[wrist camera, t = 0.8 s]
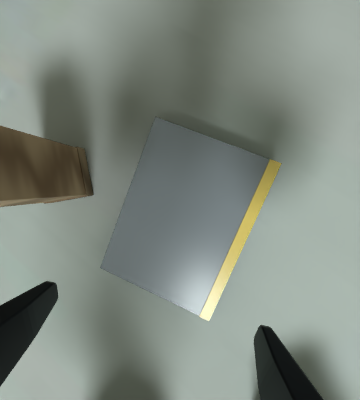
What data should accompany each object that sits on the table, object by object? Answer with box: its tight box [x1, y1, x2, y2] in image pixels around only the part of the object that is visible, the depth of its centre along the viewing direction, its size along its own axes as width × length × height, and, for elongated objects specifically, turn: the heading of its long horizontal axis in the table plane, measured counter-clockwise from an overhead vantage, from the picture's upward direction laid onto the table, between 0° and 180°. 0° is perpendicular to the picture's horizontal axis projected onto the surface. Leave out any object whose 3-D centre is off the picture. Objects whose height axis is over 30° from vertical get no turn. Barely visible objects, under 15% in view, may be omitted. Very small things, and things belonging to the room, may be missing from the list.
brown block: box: [0, 126, 93, 207], centre depth 16 cm, size 5×5×13 cm
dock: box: [100, 117, 282, 321], centre depth 19 cm, size 16×12×2 cm
